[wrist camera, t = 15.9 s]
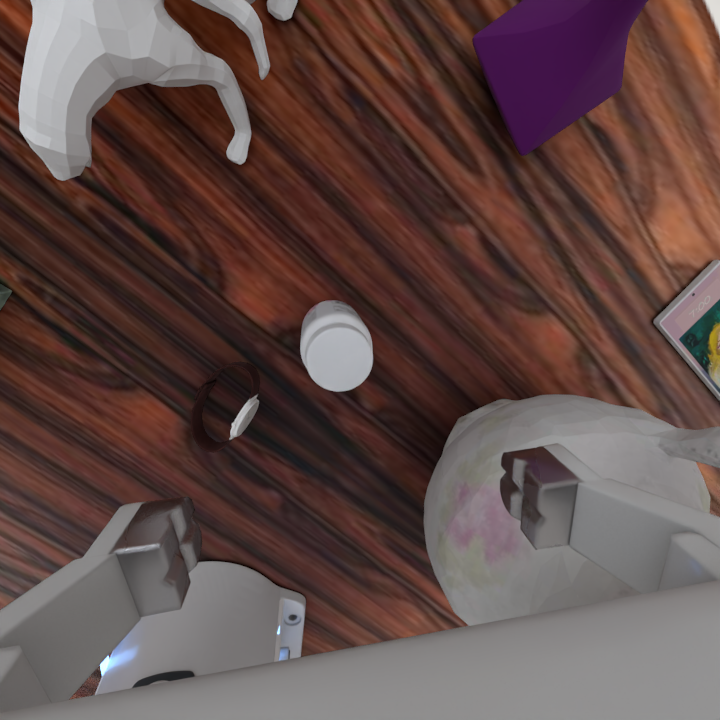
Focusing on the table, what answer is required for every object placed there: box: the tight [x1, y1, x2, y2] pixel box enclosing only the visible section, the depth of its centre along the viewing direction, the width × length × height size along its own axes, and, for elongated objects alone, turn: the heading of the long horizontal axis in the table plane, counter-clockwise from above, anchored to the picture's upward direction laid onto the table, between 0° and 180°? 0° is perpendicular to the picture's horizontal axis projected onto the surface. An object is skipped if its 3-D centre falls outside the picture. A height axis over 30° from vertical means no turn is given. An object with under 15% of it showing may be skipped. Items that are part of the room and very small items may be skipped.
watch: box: [190, 362, 260, 453], centre depth 28 cm, size 8×5×4 cm, turn 152°
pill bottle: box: [300, 300, 373, 392], centre depth 25 cm, size 5×5×8 cm
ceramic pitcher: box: [424, 394, 720, 626], centre depth 23 cm, size 22×20×25 cm
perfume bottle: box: [473, 0, 648, 156], centre depth 17 cm, size 8×8×18 cm
